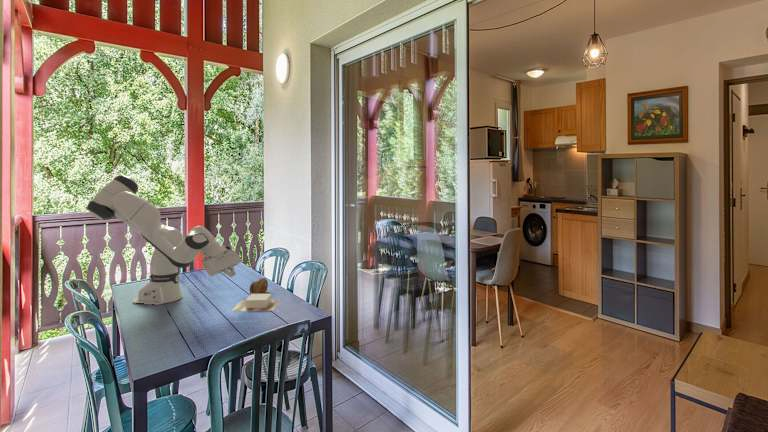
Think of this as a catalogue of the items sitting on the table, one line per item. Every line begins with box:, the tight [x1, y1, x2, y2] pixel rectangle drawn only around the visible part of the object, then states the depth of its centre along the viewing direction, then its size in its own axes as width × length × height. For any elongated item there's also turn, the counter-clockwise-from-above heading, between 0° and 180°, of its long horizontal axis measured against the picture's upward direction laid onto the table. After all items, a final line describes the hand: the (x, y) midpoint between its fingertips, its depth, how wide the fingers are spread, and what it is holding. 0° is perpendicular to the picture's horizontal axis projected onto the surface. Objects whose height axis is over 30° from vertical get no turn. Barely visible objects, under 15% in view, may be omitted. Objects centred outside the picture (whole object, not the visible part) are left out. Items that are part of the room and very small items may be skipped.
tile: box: [244, 293, 273, 308], centre depth 188 cm, size 4×10×10 cm
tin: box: [249, 277, 269, 296], centre depth 205 cm, size 15×3×8 cm, turn 168°
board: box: [230, 299, 281, 312], centre depth 187 cm, size 20×15×1 cm
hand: (233, 275), depth 182 cm, fingers closed
